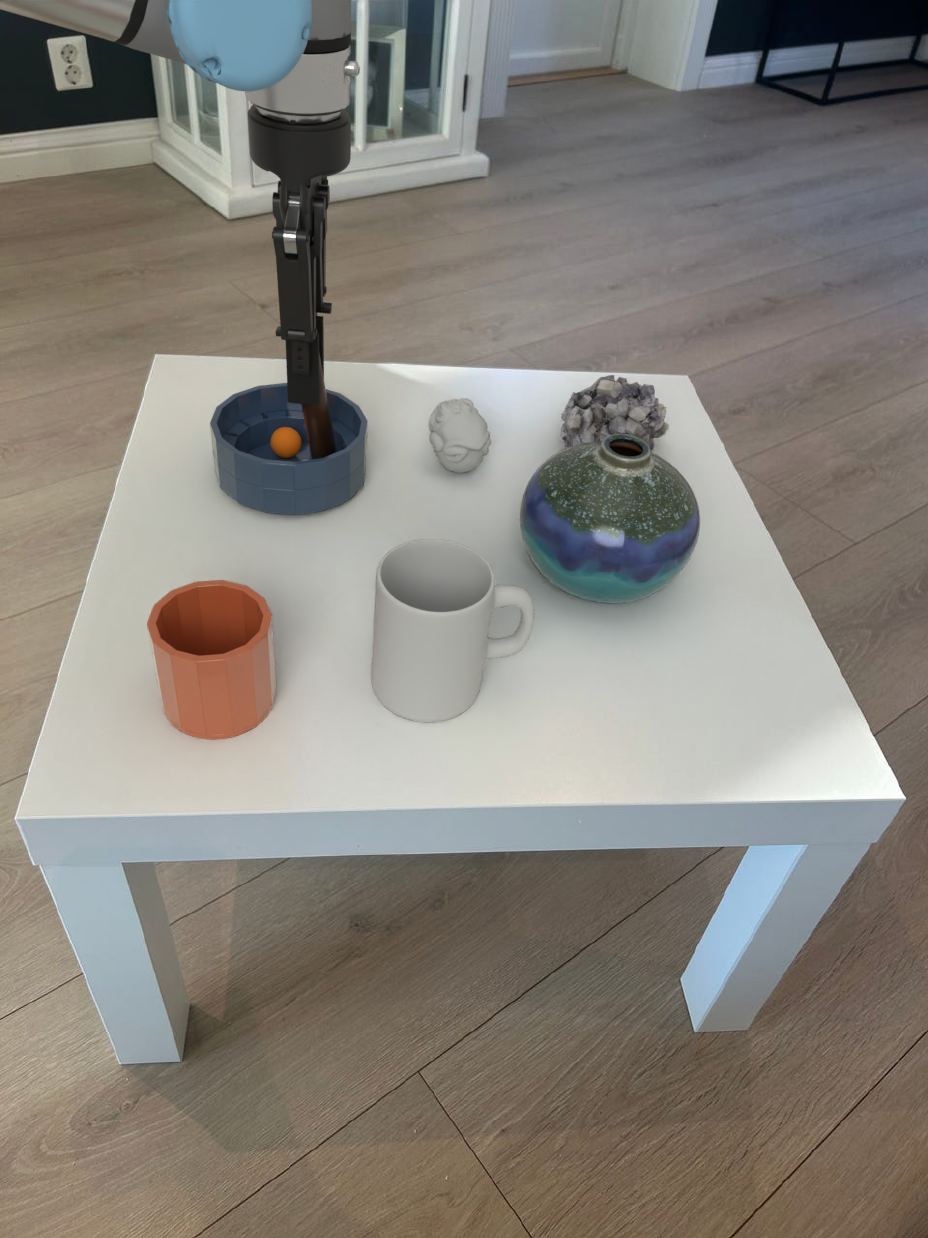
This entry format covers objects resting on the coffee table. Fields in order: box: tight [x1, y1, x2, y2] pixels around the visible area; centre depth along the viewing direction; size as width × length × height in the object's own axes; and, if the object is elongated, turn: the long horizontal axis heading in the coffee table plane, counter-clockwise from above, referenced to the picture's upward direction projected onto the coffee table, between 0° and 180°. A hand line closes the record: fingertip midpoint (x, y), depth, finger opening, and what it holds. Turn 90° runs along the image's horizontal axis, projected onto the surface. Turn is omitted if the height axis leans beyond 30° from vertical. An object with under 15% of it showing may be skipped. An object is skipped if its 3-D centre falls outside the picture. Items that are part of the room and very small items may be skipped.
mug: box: [370, 538, 535, 723], centre depth 72 cm, size 12×8×11 cm
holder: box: [146, 579, 277, 740], centre depth 69 cm, size 8×8×8 cm
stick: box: [301, 354, 337, 459], centre depth 86 cm, size 2×2×18 cm
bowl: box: [209, 382, 369, 516], centre depth 92 cm, size 14×14×6 cm
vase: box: [519, 434, 701, 604], centre depth 83 cm, size 15×15×13 cm
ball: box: [270, 427, 302, 458], centre depth 94 cm, size 3×3×3 cm
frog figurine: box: [428, 397, 492, 474], centre depth 95 cm, size 6×7×7 cm
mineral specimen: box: [559, 374, 670, 452], centre depth 100 cm, size 12×9×10 cm
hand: (306, 392), depth 86 cm, fingers closed on stick, 2 cm apart
